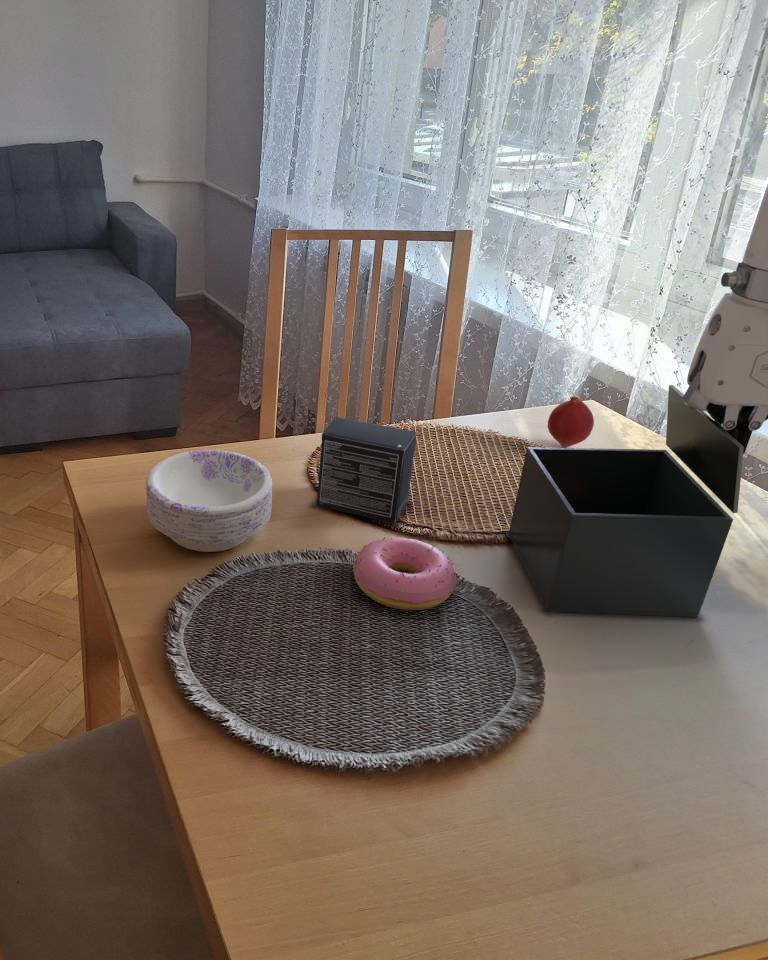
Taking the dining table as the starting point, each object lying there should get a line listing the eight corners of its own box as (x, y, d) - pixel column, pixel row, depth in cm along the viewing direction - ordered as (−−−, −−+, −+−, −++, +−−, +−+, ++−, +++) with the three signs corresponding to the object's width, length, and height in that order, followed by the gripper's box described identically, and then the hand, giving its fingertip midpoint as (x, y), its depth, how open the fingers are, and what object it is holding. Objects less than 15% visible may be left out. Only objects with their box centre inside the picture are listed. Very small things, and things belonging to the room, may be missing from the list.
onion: (555, 434, 127) (567, 384, 123) (594, 446, 123) (608, 395, 119) (535, 446, 124) (546, 395, 120) (575, 459, 120) (588, 407, 116)
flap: (665, 444, 96) (669, 444, 96) (733, 513, 83) (737, 512, 83) (668, 385, 93) (672, 384, 93) (739, 447, 80) (744, 446, 80)
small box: (409, 502, 111) (420, 429, 106) (395, 526, 107) (406, 451, 101) (330, 484, 116) (337, 413, 111) (314, 506, 111) (320, 433, 106)
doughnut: (407, 630, 89) (412, 598, 87) (330, 580, 97) (333, 550, 95) (475, 593, 94) (481, 562, 92) (396, 549, 102) (400, 519, 100)
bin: (638, 539, 102) (665, 449, 97) (698, 617, 89) (733, 519, 84) (508, 535, 104) (527, 447, 98) (547, 611, 91) (572, 515, 85)
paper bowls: (131, 555, 103) (128, 498, 99) (166, 494, 115) (166, 441, 111) (256, 576, 98) (259, 517, 94) (279, 510, 111) (283, 455, 107)
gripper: (716, 296, 77) (660, 475, 86) (897, 297, 76) (821, 479, 85) (679, 273, 84) (630, 441, 93) (844, 274, 82) (778, 445, 91)
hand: (721, 459), depth 89 cm, fingers closed
